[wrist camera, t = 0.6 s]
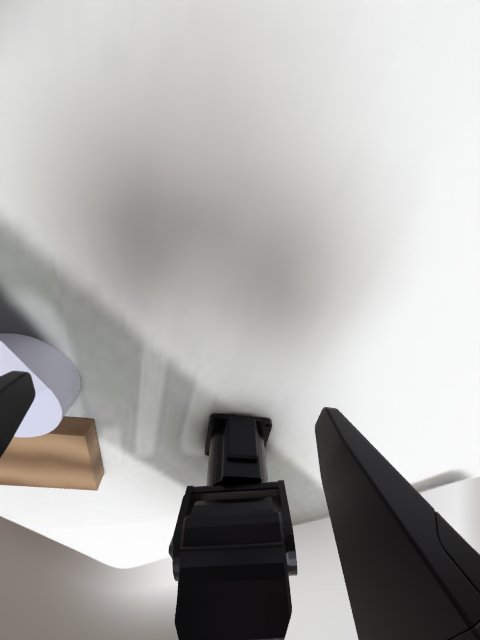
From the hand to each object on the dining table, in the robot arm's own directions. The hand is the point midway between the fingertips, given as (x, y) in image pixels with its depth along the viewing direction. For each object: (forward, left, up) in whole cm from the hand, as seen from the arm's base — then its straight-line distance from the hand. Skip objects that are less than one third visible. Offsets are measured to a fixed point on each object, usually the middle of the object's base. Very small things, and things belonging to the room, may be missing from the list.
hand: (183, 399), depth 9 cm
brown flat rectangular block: (-24, +20, -13) cm, 34 cm away
